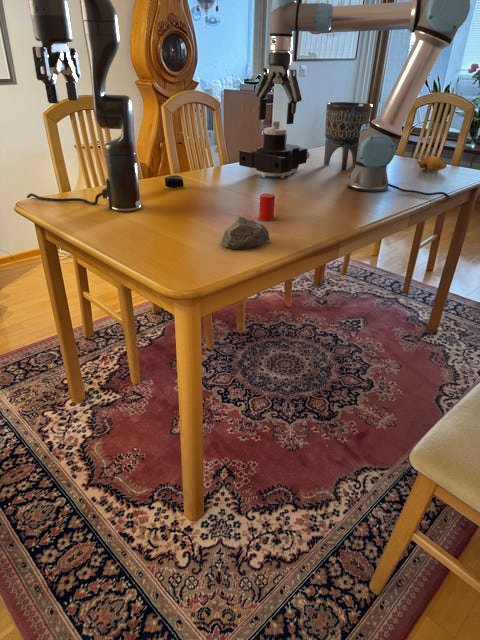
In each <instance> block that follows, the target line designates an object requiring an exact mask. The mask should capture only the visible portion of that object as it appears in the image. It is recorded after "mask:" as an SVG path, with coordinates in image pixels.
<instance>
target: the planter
mask: <svg viewBox="0 0 480 640" xmlns="http://www.w3.org/2000/svg"><path fill="white" fill-rule="evenodd" d="M373 107H374V106H373V104H372V103H367V102H353V101H333V102H327V103H326V109H325V124H324V125H325V126H324V139H325V144H324V156H323V157H324V158H323V165H325V166H328V165H330V163H331V158H332V156H333V154H334V153H335V151H336V150H337V149H340V148H341V150H342V153H341V166H340V170H341V172H345V171H347V167H348V166H347V165H348V159H349V152H350V154H351V157H352V158H351V159H352V160H351V161H352V166H353V167H355V165H356V158H357V151H358V144H359V137H360V130H361V126H362V125H363V124H370V123H371V122H370V121H371V116H372V112H373Z"/></svg>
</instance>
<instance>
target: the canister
mask: <svg viewBox="0 0 480 640" xmlns="http://www.w3.org/2000/svg"><path fill="white" fill-rule="evenodd" d="M275 200H276V195H275V194H273V193H269V192H265V193H261V194H260V195H259V209H258V211H259V212H258V219H259V220H260V221H262V222H270V221H273V220H275V219H274V218H275V203H276V201H275Z"/></svg>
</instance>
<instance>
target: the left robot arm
mask: <svg viewBox="0 0 480 640" xmlns="http://www.w3.org/2000/svg"><path fill="white" fill-rule="evenodd" d="M27 3H28V7H29V8H28V9H29V13H30V19H31V25H32V30H33V37H34V39H35V41H37V42H41V46H32V48H31V49H32V50H31V51H32V56H33V57H32V58H33V64H34V69H35V70H34V71H35V76H36V80H38V81H41V82H42V83H43V84H44V87H45V92H46V98H47V102H48V104H59V103H60V98H59V92H58V87H57V84H56V82H57V77H58V75H59V74H62V76H63V78H64V80H65V87H66V94H67V100H68V101H73V102H75V101H78V100H79V93H78V86H77V82H78V79H81V78H82V74H81V68H80V63H79V55H78V50H77V48H75V47H69V45H68V43H71V42H73V41H74V37H73V30H72V24H71V16H70V9H69V3H68V0H27ZM79 6H80V15H81V20H82V21H81V22H82V28H83V35H84V41H85V46H86V53H87V58H88V64H89V72H90V80H91V91H92V92H91V94H92V104H93V113H94V119H95V121H96V124H97V126H98V127H99V128H100V129H103V130H104V129H105V130H121V134H120V135H119V136H118V137H117V138H114V139H111V140H109V141H106V142H105V143H104V144H103V145H104V146H103V147H104V155H105V156H104V157H105V163H106V164H105V165H106V171H107V178H106V179H105V185H106V186H105V188H103V189H102V190H101V192H99V193H98V194H96V196H95V198H94V201H89V200H88V199H85V198H81V197H69V198H68V197H67V198H54V197H53V198H52V197H51V198H50V197H44V196H40V195H37V194H35V193H32V192H31V193H29V194H27V195H26V199H30V198H31V197H33V198H34V199H37V200H39V201H46V202H47V201H48V202H83V203H85V204H87V205H88V204H89V205H92V206H95V205H97V204H98V202H99V198H101V197H102V199H105V200H106V199H107V201H108V209H109V210H112V211H115V212H119V213H120V212H122V213H128V212H129V213H130V212H135V211H138V210H140V209H141V208H142V200H141V193H140V184H139V183H140V182H139V172H138V163H137V162H138V161H137V151H136V136H135V118H134V104H133V101H132V98H131V97H130V96H128V95H127V94H107V92H106V91H107V89H106V87H107V86H106V83H107V77H108V74H109V71H110V68H111V66H112V63H113V61H114V59H115V58H116V55H117V53H118V51H119V47H120V43H121V36H120V27H119V22H118V21H119V20H118V19H119V18H118V14H117V11H116V8H115V5H114V4H113V2H112V1H111V0H79Z"/></svg>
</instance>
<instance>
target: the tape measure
mask: <svg viewBox="0 0 480 640" xmlns="http://www.w3.org/2000/svg"><path fill="white" fill-rule="evenodd" d="M164 185H165V187H166V188H171V189H176V188H184V180H183V177H182V176H180V175H167V176H165V177H164Z"/></svg>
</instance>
